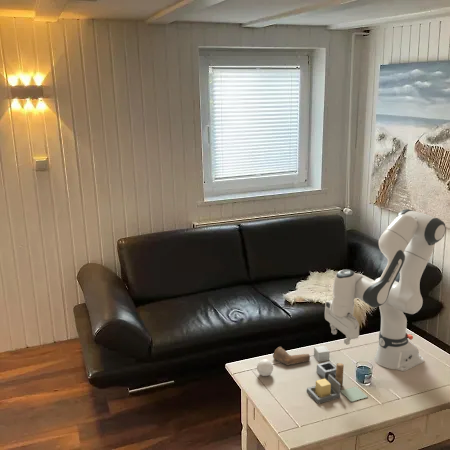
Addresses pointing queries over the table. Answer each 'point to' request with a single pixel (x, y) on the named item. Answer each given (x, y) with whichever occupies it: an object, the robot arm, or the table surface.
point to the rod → (339, 373)
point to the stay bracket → (326, 370)
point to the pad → (353, 394)
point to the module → (322, 388)
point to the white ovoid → (264, 367)
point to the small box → (321, 353)
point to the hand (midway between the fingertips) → (340, 338)
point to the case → (335, 394)
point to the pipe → (289, 357)
